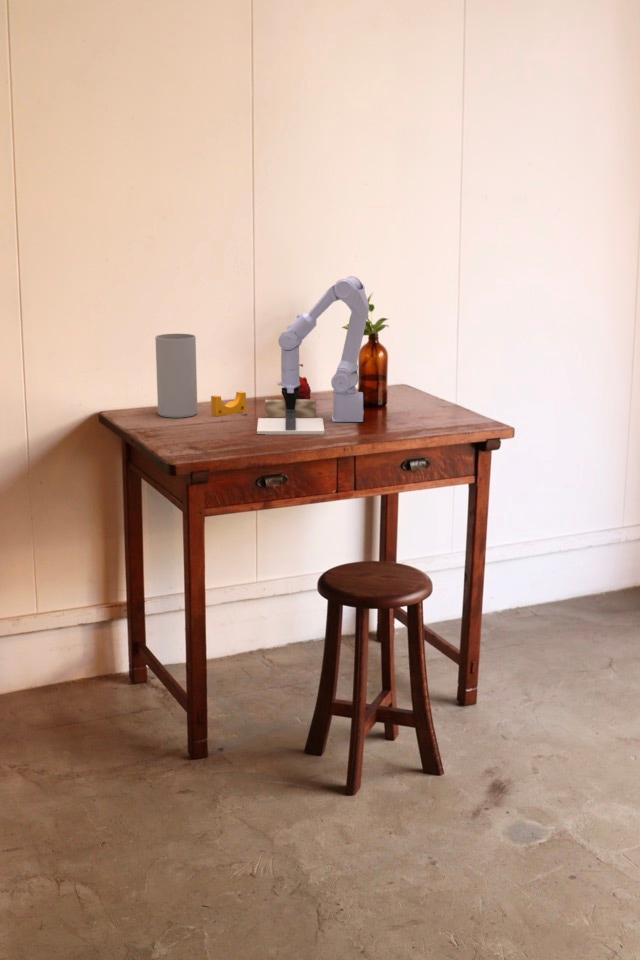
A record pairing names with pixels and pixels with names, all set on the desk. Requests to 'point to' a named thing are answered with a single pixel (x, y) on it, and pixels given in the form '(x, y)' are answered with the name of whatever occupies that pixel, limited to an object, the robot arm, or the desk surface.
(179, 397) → the cylinder vase
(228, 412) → the pipe clamp
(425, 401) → the desk surface
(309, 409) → the oak bar
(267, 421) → the stand
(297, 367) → the robot arm
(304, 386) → the red clay folk toy
